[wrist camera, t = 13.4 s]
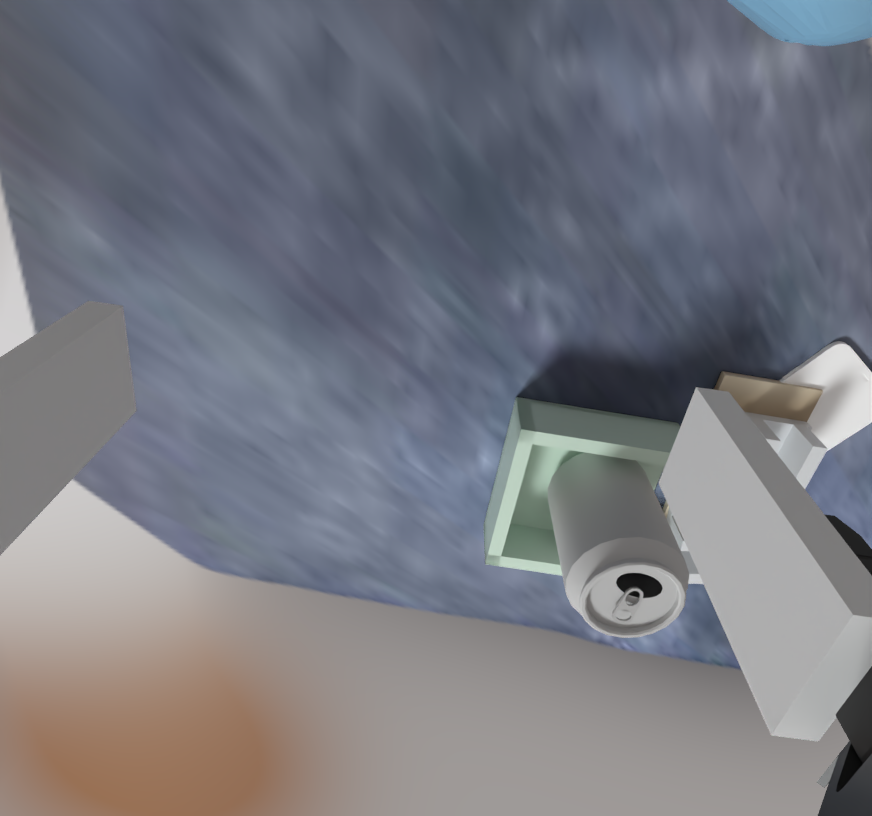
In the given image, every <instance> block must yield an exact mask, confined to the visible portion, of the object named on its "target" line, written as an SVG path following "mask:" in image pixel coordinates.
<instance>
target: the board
mask: <svg viewBox="0 0 872 816" xmlns="http://www.w3.org/2000/svg"><path fill="white" fill-rule="evenodd" d="M714 390H720V391H727V392H729V393H730V394H731V395H732V397H733V398H734V399H735V400H736V402H737V403H738V404H739V406H740V407H741V408H742V409H743V411H744V412H749V413H755V414H761V415H767V416H774V417H780V418H786V419H792V420H798V421H804V422H807V421H808V419H809V417H810V415H811V413H812V411H813V410H814V408H815V406H816V404H817V402H818V400H819V398H820V396H821V394H822V393H823V390H822V389H817V388H811V387H805V386H799V385H793V384H787V383H781V382H780V381H779V380H773V379H767V378H760V377H754V376H748V375H742V374H736V373H730V372H724V371H722V372H721V374H720V376H719V379H718V381H717V383H716V386H715V388H714ZM662 510H663V512H664V515H665V517H666V519H667V514H668V510H669V505H668V503H667V501H666V502H665V504H664V506H663V508H662Z"/></svg>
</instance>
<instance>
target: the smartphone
mask: <svg viewBox="0 0 872 816" xmlns="http://www.w3.org/2000/svg"><path fill="white" fill-rule="evenodd" d="M779 381H780V382H781V383H787V384H793V385H799V386H805V387H811V388H817V389H822V390H823V393H822V394H821V396H820V398H819V400H818V402H817V404H816V406H815V408H814V410H813V411H812V413H811V415H810V417H809V419H808V421H807V422H808V424H809V425H810V426H811V427H812V430H811V432H812V433H813V434H814V435H815V436H816V437H817V438H818V439H819V440H820V441H821V442H822V443H823V444H824V445H825V446H826V447H827V448H828V449H827V451H828V450H830V449H831V448H833V447H834V446H836V445H837V444H839V443H840V442H842V441H843V440H845V439H847V438H848V437H850V436H851V435H853V434H854V433H856V432H857V431H859V430H860V429H862V428H864V427H865V426H867V425H868V424H870V423H871V422H872V372H871V371H870V370H869V368H868V367H867V366H866V365H865V364H864V362H863V361H862V360H861V359H860V358H859V356H858V355H857V354H856V353H855V352H854V350H853V349H852V348H851V347H850V346H849V345H847V344H846V343H844V342H841V341H837V342H833V343H831V344H829V345H827V346H826V347H824V348H823V349H822V350H820V351H819V352H818V353H816V354H815V355H813V356H812V357H810V358H809V359H808V360H806V361H805V362H804V363H802V364H801V365H800V366H797V367H796V368H794V369H793V370H792V371H790V372H789V373H788V374H786V375H785V376H783V377H782V379H780V380H779ZM664 468H665V466H664ZM664 468H663V470H664ZM662 472H663V471H662Z"/></svg>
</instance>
